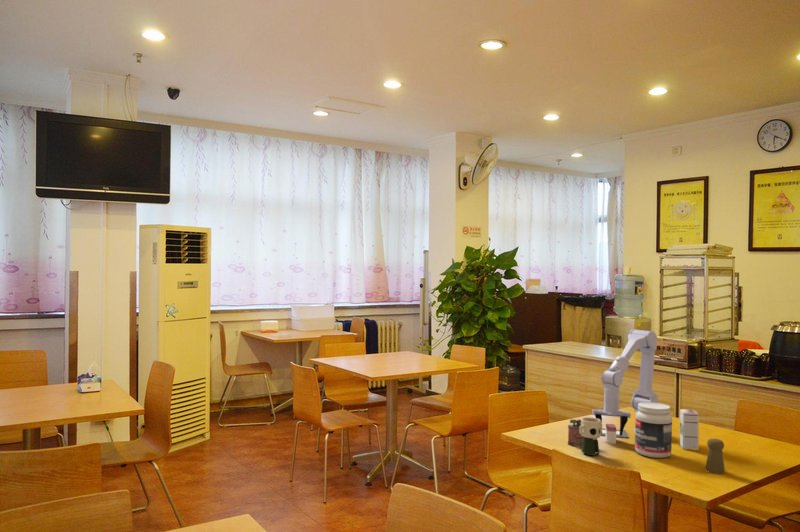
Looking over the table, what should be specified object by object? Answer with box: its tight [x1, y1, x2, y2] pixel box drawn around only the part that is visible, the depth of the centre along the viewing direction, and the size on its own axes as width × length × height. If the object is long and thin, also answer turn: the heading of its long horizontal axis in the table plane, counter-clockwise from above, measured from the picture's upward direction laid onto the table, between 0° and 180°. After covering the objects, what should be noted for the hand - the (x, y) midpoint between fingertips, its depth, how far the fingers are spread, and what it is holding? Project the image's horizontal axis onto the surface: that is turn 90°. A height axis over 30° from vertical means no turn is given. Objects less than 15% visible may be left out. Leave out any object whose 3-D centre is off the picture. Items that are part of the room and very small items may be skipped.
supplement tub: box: [634, 402, 673, 459], centre depth 225 cm, size 13×13×18 cm
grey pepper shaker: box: [705, 438, 726, 475], centre depth 207 cm, size 6×6×11 cm
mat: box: [600, 427, 629, 439], centre depth 253 cm, size 15×11×1 cm
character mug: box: [579, 416, 603, 456], centre depth 223 cm, size 11×7×13 cm, turn 116°
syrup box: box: [679, 408, 700, 451], centre depth 234 cm, size 6×6×14 cm
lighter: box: [567, 418, 585, 447], centre depth 235 cm, size 8×3×10 cm, turn 84°
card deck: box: [605, 423, 617, 445], centre depth 241 cm, size 3×7×6 cm, turn 165°
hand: (610, 434), depth 241 cm, fingers open, 7 cm apart
